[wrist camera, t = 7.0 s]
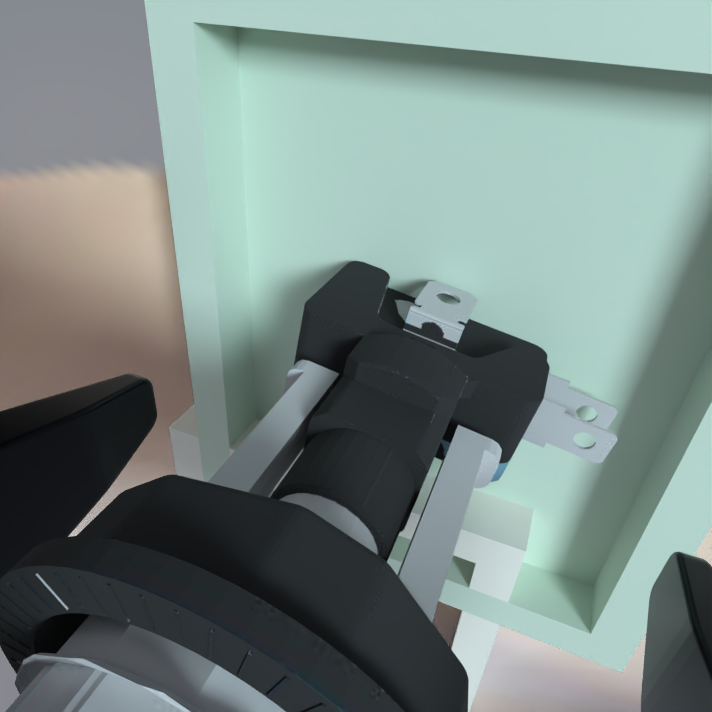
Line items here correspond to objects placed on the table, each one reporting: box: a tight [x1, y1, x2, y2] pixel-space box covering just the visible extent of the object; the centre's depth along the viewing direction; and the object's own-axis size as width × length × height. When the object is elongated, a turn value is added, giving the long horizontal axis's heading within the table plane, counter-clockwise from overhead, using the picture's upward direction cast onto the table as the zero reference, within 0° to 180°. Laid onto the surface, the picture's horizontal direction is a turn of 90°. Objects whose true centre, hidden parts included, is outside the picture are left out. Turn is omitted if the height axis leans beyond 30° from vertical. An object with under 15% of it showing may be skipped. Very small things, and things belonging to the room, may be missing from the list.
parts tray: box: [144, 0, 712, 673], centre depth 12 cm, size 12×14×2 cm
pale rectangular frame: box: [169, 404, 534, 712], centre depth 19 cm, size 10×12×2 cm
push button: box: [0, 261, 618, 712], centre depth 9 cm, size 7×5×10 cm
